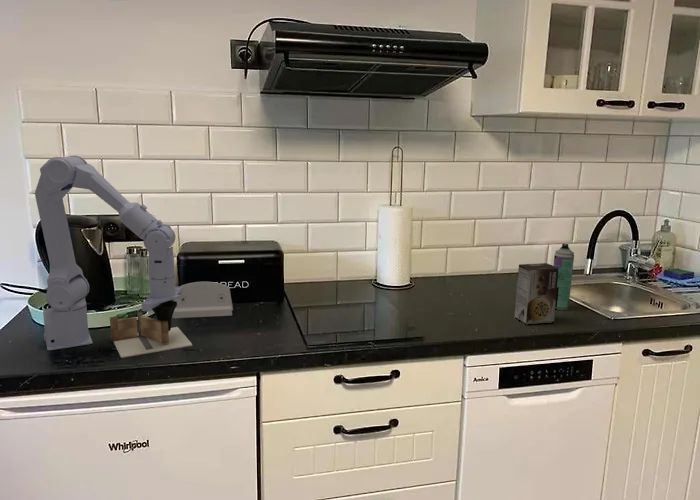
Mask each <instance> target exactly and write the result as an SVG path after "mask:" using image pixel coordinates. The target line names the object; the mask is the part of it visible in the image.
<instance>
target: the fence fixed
mask: <svg viewBox="0 0 700 500" xmlns="http://www.w3.org/2000/svg"><path fill="white" fill-rule="evenodd" d="M109 324H110V325H109V327H110V341H112V342H113V341H118V340H119V339H125V338H132V337H138V317H137V316H132V317H126V318H125V317H124V318H119V317H118V316H111V317H109Z"/></svg>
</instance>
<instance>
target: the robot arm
mask: <svg viewBox="0 0 700 500" xmlns="http://www.w3.org/2000/svg"><path fill="white" fill-rule="evenodd" d="M39 172H40V176H39V179H38V180H37V181H38V182H37V185H36V188H35V190H34V197H35V202H36V206H37V211H38V215H39V220H40V225H41V229H42V233H43V234H42V235H43V239H44V242H45V248H46V252H47V257H48V261H49V267H50V271H49V273H48V277H47V280H46V282H47V289H46V293H45V298H46V299H45V300H46V302H47V303H48V305H49V306H50V308H45V309H43V310H42V311H43V312H42V315H43V324H44V325H43V326H44V333H43V341H45V345H46V350H47V351H53V350H54V351H55V350H61V349H66V348H67V349H68V348H74V347H79V346H87V345H91V344H93V340H92V338H91V334H90V331H89V323H88V309H87V301H86V297H87V296H88V294H89V292H90V284H89V282H88V279H87V278H86V277H85V276H84V272H83V269H82V268H81V267H80V266H79V265H78V264H77V262H76V257H75V252H74V248H73V243H72V242H73V241H72V238H71V232H70V228H69V227H70V226H69V223H68V218H67V213H66V208H65V203H64V198H65V196H66V195H67V194H68V193H69V192H70V191H71V190H72V189H73V188H76V189H83V190H89V191H91V192H92V193H93V194H95V195H96V196H97V197H98V198H100V199H101V200H103V202H105V203H106V204H107V205H109V206H110V207H111V208H112V209H113V210H115V211H116V212H118V218H119V221H120V222H121V223H122V224H123V225H124V226H126V228H128V229H129V230H130V231H131V232H132V233H134V234H135V235H136V236H137V237H138V238H140V239H141V240H143V241H142V242H143V243H142V244H143V245H144V248H145V250H147V252H148V253H147V254H148V274H149V275H148V277H149V296H147V297H146V299H145V300H144V301H142V302H141V311H142V312H153V313H154V315H155V316H156V318H157V319H156V320H159V321H168V332H169V331H170V330H171V328H172V319H173V318H172V315H173V312H174V310H175V308H176V306H177V302H176V301H173V300H176V299H178V298H180V295H182V294H183V287H179V286H176V275H175V274H176V272H175V257H174V247H173V245H174V244H175V242H176V233H175V230H174V229H172V227H171V225H169V224H165V223H164V222H163V221H162V220H161V219H157V218H156V217H154V215H152V214H151V213H150V212H149V211H148V207H147V206H146V205H145V204H143V203H142V204H140V203H139V202H130V201H129V200H127V199H126V198H125V197H124V196H123V195H122V194H121V193H120V192H119V191H118V190H117V189H116V188H115V187H114V186H113V185H112V184H111V183H110V181H108V180H107V179H106V178H105V177H104V176H103V175H102V174H101V173H100V172H99V171H98V170H97V169H96V168H95V166H93V165H92V164H90V163H88V162H87V161H86V160H85V159H84V158H83V157H81V156H78V155H69V156H63V157H62V156H55V157H54V156H53V157H51V158H49V160H47V161H46V162H45V163H44V164H43V165H41V167H40V168H39Z"/></svg>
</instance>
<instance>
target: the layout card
mask: <svg viewBox="0 0 700 500" xmlns="http://www.w3.org/2000/svg"><path fill="white" fill-rule="evenodd" d="M168 333H169V343H167V344H163V343H162V342H159V341H156V340H153V339H151V338H148V337H145V336H142V335H141V336H140V335H139V333H138V337H132V338H125V339H119V340H118V341H112V342H113V344H114V346H115V348H116V350H117V352H118V354H119V357H120V358H121V359H123V358H128V357H134V356H140V355H146V354H152V353H153V354H154V353H157V352H165V351H169V350H175V349H181V348H186V347H193V344H192V342H191V340H189V338H188V337H187V336H186V335H185V334H184V332H182V330H181V329H180V328H179V327H178V326H176V327H175V326H174V327H171V330H170V331H169V332H168Z"/></svg>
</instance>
